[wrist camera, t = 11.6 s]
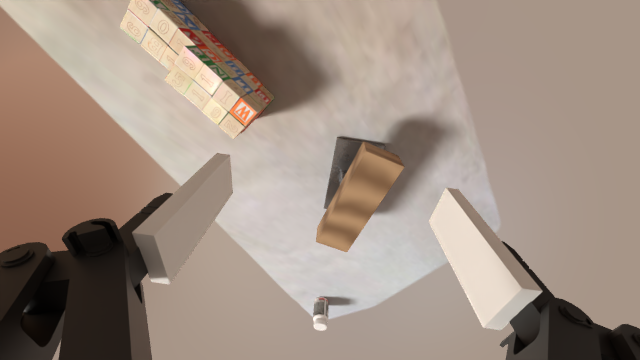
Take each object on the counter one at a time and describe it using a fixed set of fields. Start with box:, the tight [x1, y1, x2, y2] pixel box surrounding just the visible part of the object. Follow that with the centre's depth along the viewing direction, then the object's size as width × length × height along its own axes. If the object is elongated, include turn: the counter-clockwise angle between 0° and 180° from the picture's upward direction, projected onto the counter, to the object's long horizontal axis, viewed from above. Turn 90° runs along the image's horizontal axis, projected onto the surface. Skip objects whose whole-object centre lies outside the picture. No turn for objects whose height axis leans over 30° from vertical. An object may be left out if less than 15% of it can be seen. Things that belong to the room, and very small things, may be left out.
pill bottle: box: [313, 297, 329, 331], centre depth 73 cm, size 5×5×8 cm
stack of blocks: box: [120, 0, 274, 139], centre depth 37 cm, size 21×6×12 cm, turn 44°
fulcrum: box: [324, 137, 385, 209], centre depth 49 cm, size 18×10×7 cm, turn 172°
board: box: [316, 141, 404, 252], centre depth 44 cm, size 22×7×4 cm, turn 158°
